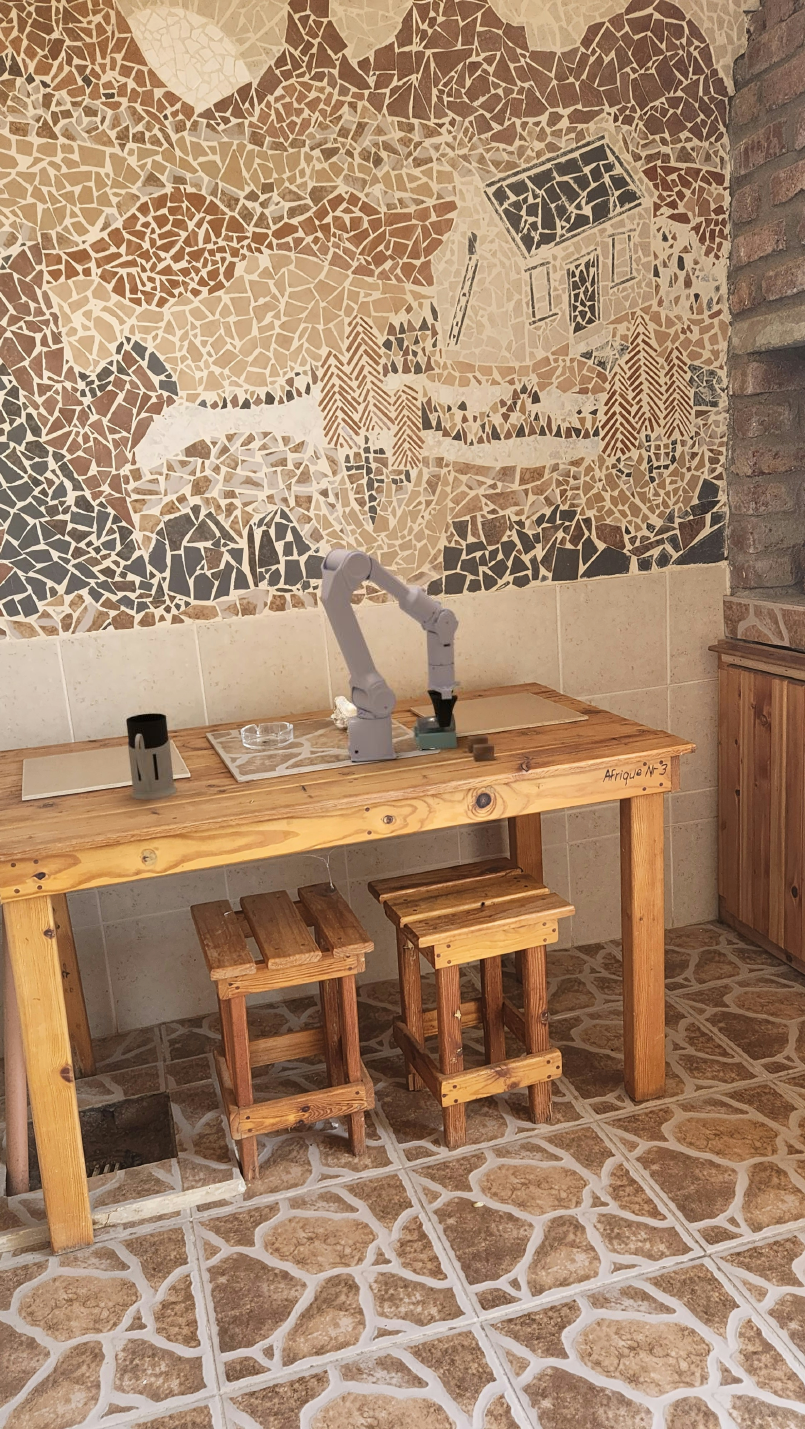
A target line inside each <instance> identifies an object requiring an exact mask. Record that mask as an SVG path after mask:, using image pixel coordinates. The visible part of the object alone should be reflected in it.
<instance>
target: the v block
mask: <svg viewBox="0 0 805 1429" xmlns="http://www.w3.org/2000/svg"><path fill="white" fill-rule="evenodd" d="M414 738H415V739H414ZM413 739H414V741H415V743H417V744H416V745H418V746H419V748H418V750H419V749H430V748H435V749H434V750H445V749H457V748H458V744H457V740H458V739H457V732H456V731H455V732H443V733H430V734H418V730H417V724H413ZM418 746H417V747H418Z"/></svg>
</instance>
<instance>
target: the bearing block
mask: <svg viewBox="0 0 805 1429" xmlns="http://www.w3.org/2000/svg"><path fill="white" fill-rule="evenodd" d="M467 751H468V753H469V754H472V753H473V758H472V759H473V760H474V762H486V761H487V762H488V761H495V746H494V743H489V737H488V736H487V735H486V734H485V735H470V736H467Z"/></svg>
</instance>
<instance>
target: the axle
mask: <svg viewBox="0 0 805 1429" xmlns="http://www.w3.org/2000/svg"><path fill="white" fill-rule="evenodd" d="M415 719H416V725H417V730H418V734H430V733H443V732H456V730H457V726H456V719H455V715H454V713H453V712H452V718H451V724H450V727H440V725H439V721H438V716H437V715H436V716H435V715H430V716H429V715H428V716H423V717H422V716H421V717H416V718H415Z"/></svg>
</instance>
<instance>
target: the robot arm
mask: <svg viewBox="0 0 805 1429" xmlns="http://www.w3.org/2000/svg"><path fill="white" fill-rule="evenodd" d="M320 569H321V573H322V579H321V591H320V592H321V593H320V599H321V600H320V601H321V603H322V606H323V608H324V610H325V614H326V616H327V618H328V621H329V623H330V626H331V627H332V630H333V633H334V635H335V638H336V641H337V643H338V645H339V649H340V651H341V653H342V655H343V658H344V661H345V663H346V666H347V668H348V672H349V674H350V678H349V679H348V685H349V687H350V701H351V703H352V705H353V706H354V707H355V708H356V715H353V716H348V717H347V734H348V743H347V751H348V753H349V757H351V758H350V761H351V762H352V761H356V762H367V761H380V760H381V761H383V760H393V759H397V756H398V755H397V753H396V752H395V751H396V750H395V748H394V746H393V745H394V744H393V743H394V742H393V724H392V723H393V722H392V713H393V711H394V710H395V707H396V705H397V696H396V694H395V692H394V690H393V689H392V688H390V687H389V686H388V684H387V682H386V680H385V678H384V677H383V675H382V674H380V672H379V671H378V670H377V668H376V666H375V663H374V661H373V658H372V655H371V652H370V650H369V648H368V645H367V642H366V640H365V637H364V634H363V632H362V630H361V627H360V624H359V622H358V619H357V616H356V614H355V611H354V609H353V607H352V606H353V605H352V604H351V598H352V596H353V595H354V592H355V591H356V590H357V589H358V588H359V587H360V586H361V584H363V583H364V581H370V582H371V583H373V584H375V585H376V586H377V587H379V588H381V589H382V590H383V591H384V592H387V593H388V594H390V595H391V596H392V597H394V598H395V599H396V600H398V601H397V602H398V607H399V609H400V610H401V611H403V613H406V615H408V616H410V617H411V618H412V619H414V621H416V622H417V623H419V624H420V627H421V628H422V630H423V631H426V650H427V651H426V652H427V655H426V656H427V674H428V675H427V676H428V679H427V680H428V682H427V688H428V690H426V692H427V693H428V695H429V698H430V700H431V704H432V706H433V710H434V716H436V715H437V716H438V721H439V725H440V727H450V724H451V718H452V713H453V711H454V708H455V705H456V702H457V701H458V698H459V696H458V695H457V694H456V695H454V694H453V693H454V689H455V688H456V687H460V686H462V685H461V681H460V680H456V678H455V677H456V674H455V672H456V671H455V668H456V667H455V646H454V644H455V642H454V641H455V634H456V631H457V630H458V627H459V623H460V621H459V620H458V619H457V617H456V614H455V612H454V611H453V610H451V609H448V608H444V607H442V602H441V601H439V600H437V599H434V598H432V597H431V596H429V595H428V594H427V593H426V592H427V590H426V589H425V588H424V587H422V586H415V585H414V586H413V585H412V586H410V587H409V586H407V585H406V584H404V582H402V581H401V580H400V579H399V578H398V577H396V576H395V574H393V573H392V572H391V571H389V570H388V569H387V568H386V567H384V566H383V565H382V564H381V563H380V562H379V561H378V560H377V559H376V558H374V557H372V556H371V555H368V554H367V552H365V551H363V550H360V549H347V548H346V549H345V548H343V547H335V548H332V549H331V550H329V551H328V552H327V554H326V555H325V556H324V559H323V561H322V563H321V565H320Z"/></svg>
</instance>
